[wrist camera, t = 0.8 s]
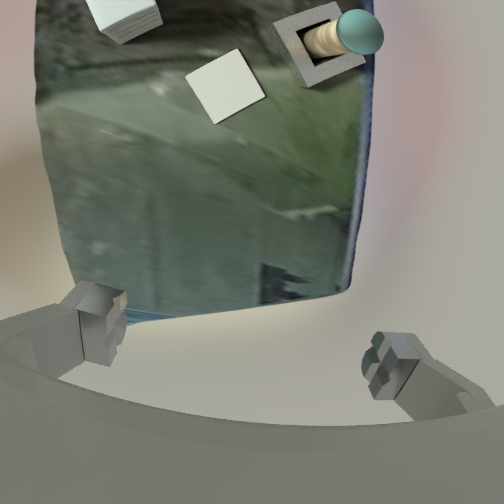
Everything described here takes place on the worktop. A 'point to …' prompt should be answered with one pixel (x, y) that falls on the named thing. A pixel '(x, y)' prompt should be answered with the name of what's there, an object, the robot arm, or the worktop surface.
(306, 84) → the metal collar
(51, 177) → the worktop surface
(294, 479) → the robot arm
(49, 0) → the worktop surface
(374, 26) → the birch stopper
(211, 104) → the white mat
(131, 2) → the supplement box
